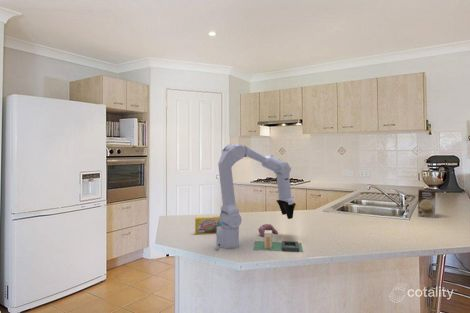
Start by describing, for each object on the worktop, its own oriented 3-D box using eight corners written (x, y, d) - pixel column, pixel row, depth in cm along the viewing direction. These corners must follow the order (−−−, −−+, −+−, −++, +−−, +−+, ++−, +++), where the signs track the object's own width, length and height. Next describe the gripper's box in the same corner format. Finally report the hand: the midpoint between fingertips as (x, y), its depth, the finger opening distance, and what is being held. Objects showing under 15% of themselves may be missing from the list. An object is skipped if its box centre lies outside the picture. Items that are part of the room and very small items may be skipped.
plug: (264, 249, 126) (264, 233, 126) (264, 245, 131) (264, 230, 131) (271, 249, 126) (271, 233, 125) (272, 245, 130) (272, 230, 130)
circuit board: (252, 252, 125) (252, 249, 125) (255, 243, 137) (255, 241, 137) (303, 254, 122) (303, 252, 122) (301, 245, 134) (301, 243, 134)
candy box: (195, 234, 151) (195, 218, 151) (195, 233, 153) (195, 217, 153) (227, 233, 154) (227, 216, 154) (227, 231, 156) (227, 215, 156)
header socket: (281, 251, 123) (281, 247, 123) (281, 244, 132) (281, 240, 132) (299, 252, 122) (299, 248, 122) (297, 244, 131) (297, 241, 131)
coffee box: (417, 216, 190) (417, 190, 189) (417, 214, 195) (418, 189, 195) (435, 218, 185) (435, 191, 184) (435, 216, 190) (435, 190, 190)
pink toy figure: (272, 237, 152) (266, 223, 154) (279, 234, 149) (273, 220, 151) (260, 242, 144) (255, 227, 146) (268, 239, 142) (262, 224, 143)
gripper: (298, 188, 135) (301, 218, 137) (286, 184, 150) (290, 211, 151) (282, 191, 134) (286, 221, 135) (273, 186, 149) (276, 213, 150)
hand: (287, 216), depth 143 cm, fingers open, 7 cm apart
